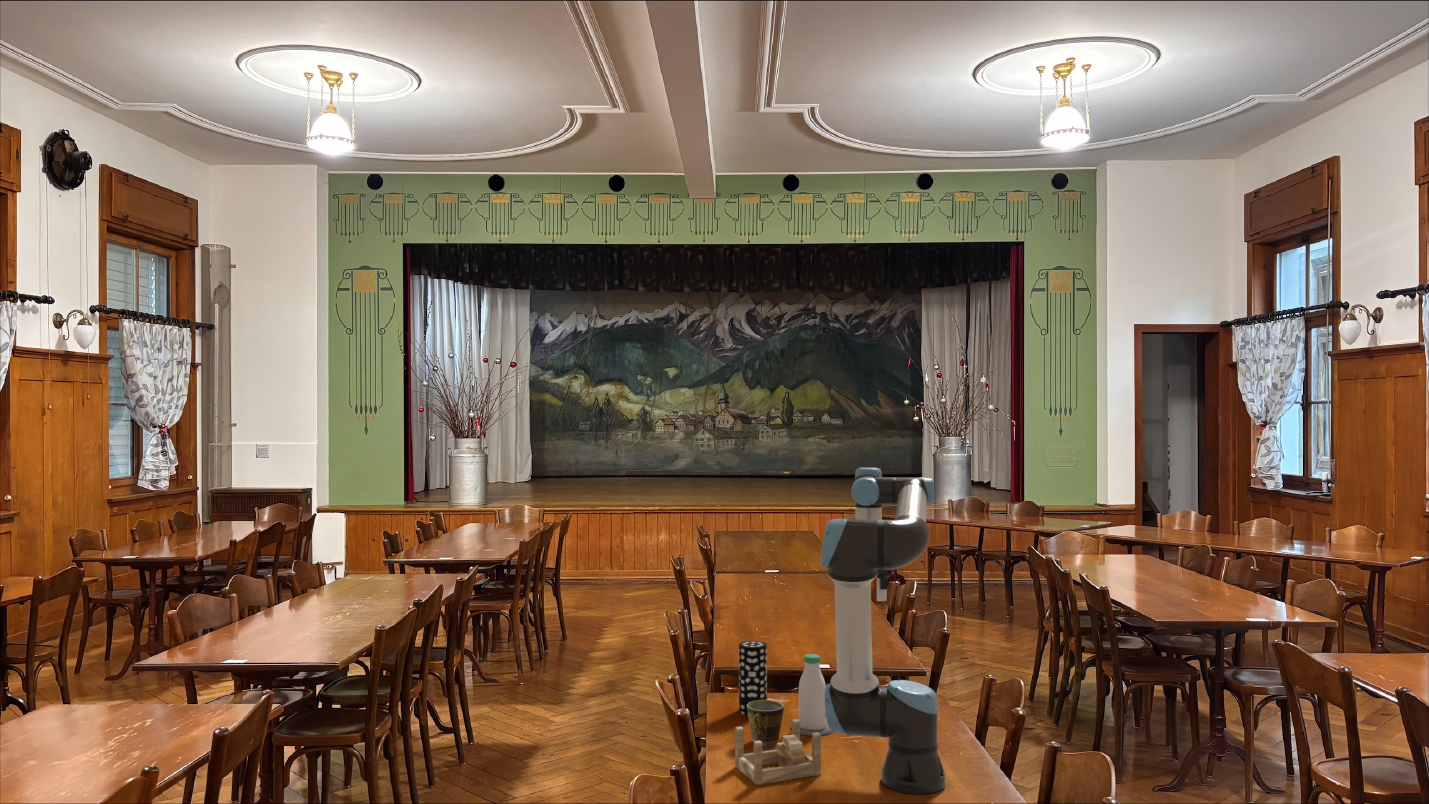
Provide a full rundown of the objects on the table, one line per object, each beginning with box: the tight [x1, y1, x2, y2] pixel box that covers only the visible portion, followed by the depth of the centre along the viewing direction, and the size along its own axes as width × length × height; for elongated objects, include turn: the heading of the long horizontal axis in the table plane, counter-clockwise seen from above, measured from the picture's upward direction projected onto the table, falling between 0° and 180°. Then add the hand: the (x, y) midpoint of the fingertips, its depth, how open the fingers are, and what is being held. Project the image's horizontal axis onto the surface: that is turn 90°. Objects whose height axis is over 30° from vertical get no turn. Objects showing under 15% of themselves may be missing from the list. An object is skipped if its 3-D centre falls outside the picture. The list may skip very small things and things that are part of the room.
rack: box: [734, 718, 822, 786], centre depth 238 cm, size 13×17×10 cm
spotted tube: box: [738, 640, 768, 716], centre depth 286 cm, size 8×8×20 cm
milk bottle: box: [798, 653, 827, 731], centre depth 270 cm, size 8×8×20 cm
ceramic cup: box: [747, 699, 785, 748], centre depth 258 cm, size 13×10×10 cm
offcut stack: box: [776, 734, 806, 767], centre depth 240 cm, size 8×4×7 cm, turn 22°
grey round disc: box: [790, 721, 834, 737], centre depth 270 cm, size 12×12×1 cm
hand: (868, 596), depth 273 cm, fingers open, 13 cm apart
